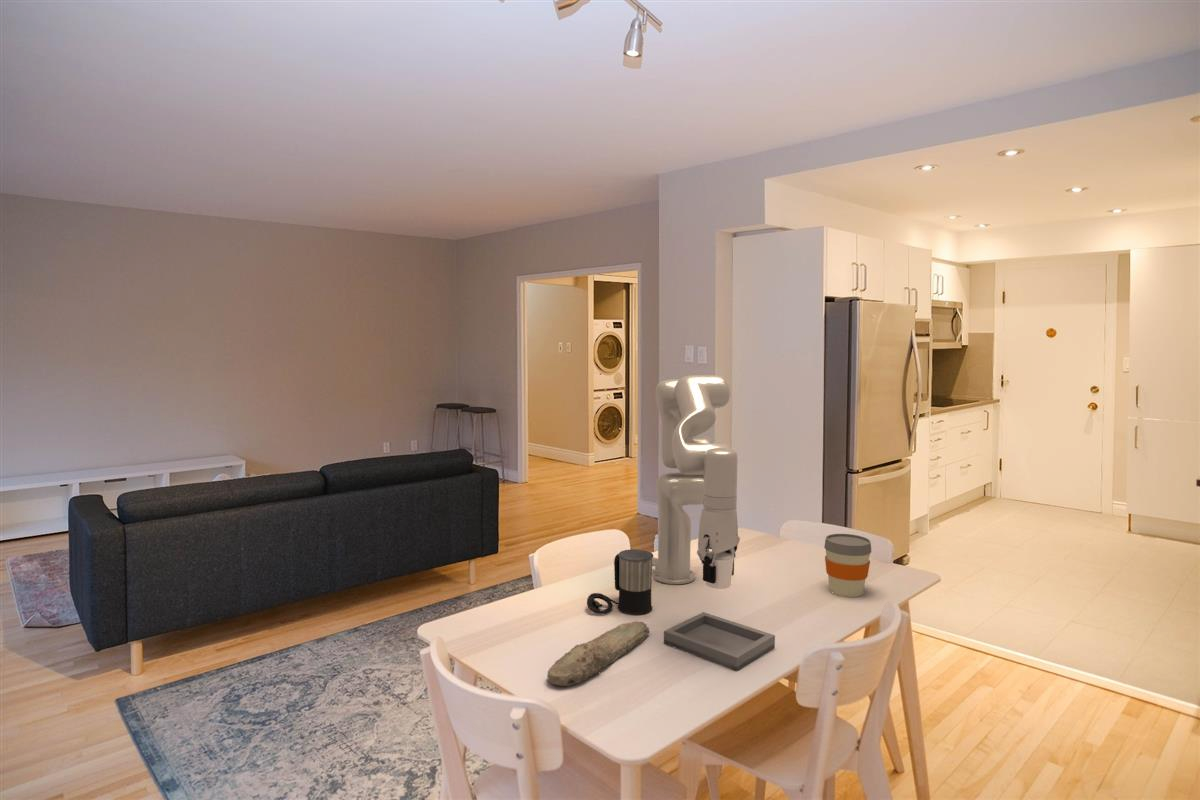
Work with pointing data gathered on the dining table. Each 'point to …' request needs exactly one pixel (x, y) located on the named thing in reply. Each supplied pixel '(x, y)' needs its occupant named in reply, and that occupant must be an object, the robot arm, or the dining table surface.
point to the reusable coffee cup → (847, 563)
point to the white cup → (722, 570)
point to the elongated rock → (596, 654)
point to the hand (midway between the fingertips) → (718, 577)
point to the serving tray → (719, 640)
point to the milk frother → (629, 584)
